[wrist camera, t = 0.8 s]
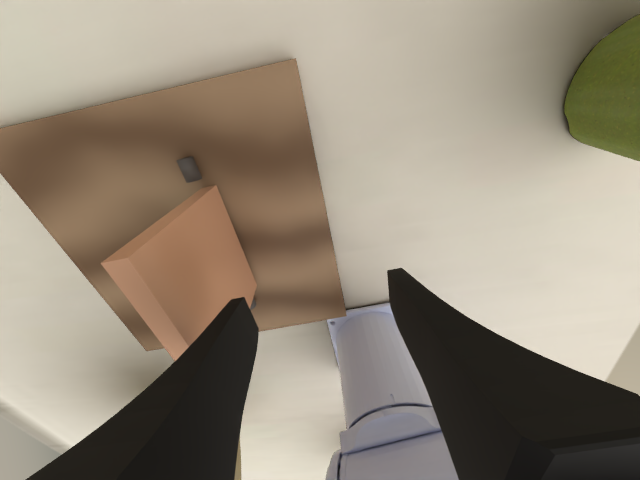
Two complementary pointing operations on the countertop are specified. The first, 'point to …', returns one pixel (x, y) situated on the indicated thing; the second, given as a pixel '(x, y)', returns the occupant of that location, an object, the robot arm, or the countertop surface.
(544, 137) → the countertop surface
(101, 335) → the countertop surface
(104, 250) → the board
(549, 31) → the countertop surface
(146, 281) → the tile
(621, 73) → the plant pot
